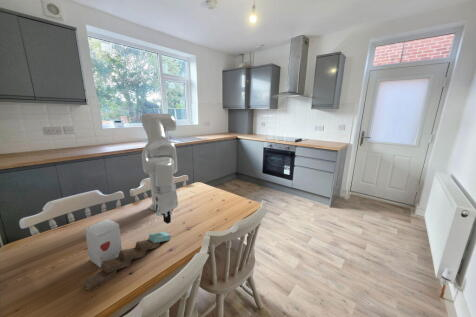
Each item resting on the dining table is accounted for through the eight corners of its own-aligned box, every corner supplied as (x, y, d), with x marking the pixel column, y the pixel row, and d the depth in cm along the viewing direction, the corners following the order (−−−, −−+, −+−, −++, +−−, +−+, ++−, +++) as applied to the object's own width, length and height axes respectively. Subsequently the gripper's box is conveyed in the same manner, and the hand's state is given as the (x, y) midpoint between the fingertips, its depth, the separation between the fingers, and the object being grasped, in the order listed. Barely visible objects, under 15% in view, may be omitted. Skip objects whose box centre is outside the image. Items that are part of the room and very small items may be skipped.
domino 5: (165, 231, 96) (149, 233, 88) (171, 235, 93) (155, 237, 86) (164, 236, 95) (148, 239, 88) (169, 240, 93) (153, 242, 85)
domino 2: (125, 254, 79) (102, 261, 72) (131, 259, 77) (108, 266, 69) (123, 260, 79) (100, 268, 71) (130, 265, 77) (106, 273, 69)
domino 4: (154, 238, 91) (136, 241, 83) (160, 241, 88) (142, 245, 81) (153, 243, 90) (135, 247, 83) (158, 246, 88) (140, 251, 81)
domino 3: (140, 246, 85) (120, 250, 77) (146, 250, 83) (125, 254, 75) (138, 252, 85) (118, 256, 77) (144, 256, 82) (124, 261, 75)
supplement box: (100, 269, 75) (95, 235, 72) (89, 260, 79) (83, 228, 76) (123, 254, 83) (119, 223, 79) (112, 247, 87) (107, 217, 84)
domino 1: (110, 265, 75) (82, 281, 67) (116, 269, 72) (88, 287, 65) (111, 270, 75) (84, 287, 68) (117, 275, 73) (90, 293, 65)
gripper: (155, 195, 81) (158, 232, 86) (183, 184, 93) (184, 217, 98) (145, 190, 85) (148, 226, 90) (173, 181, 97) (174, 213, 102)
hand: (167, 222), depth 94 cm, fingers closed
